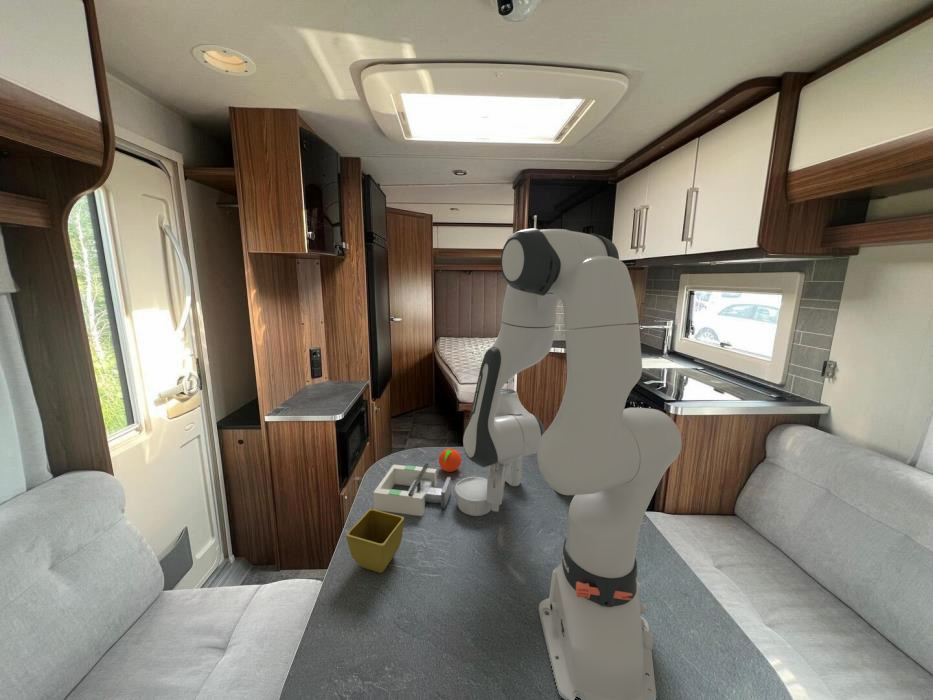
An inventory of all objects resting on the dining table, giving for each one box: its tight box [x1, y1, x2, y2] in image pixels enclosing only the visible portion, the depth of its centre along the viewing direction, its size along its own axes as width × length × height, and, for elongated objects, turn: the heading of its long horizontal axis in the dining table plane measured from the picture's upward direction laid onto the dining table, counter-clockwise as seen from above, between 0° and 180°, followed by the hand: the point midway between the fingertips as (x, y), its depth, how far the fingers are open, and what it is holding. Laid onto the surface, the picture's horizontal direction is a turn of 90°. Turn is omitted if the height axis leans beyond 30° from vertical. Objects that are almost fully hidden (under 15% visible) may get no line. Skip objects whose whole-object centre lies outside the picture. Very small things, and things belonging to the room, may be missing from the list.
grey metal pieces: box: [407, 462, 452, 510], centre depth 98 cm, size 15×10×6 cm
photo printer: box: [505, 456, 524, 487], centre depth 108 cm, size 10×4×12 cm, turn 28°
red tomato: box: [438, 447, 462, 473], centre depth 112 cm, size 8×7×7 cm
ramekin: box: [454, 476, 492, 517], centre depth 96 cm, size 11×11×5 cm
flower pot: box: [345, 508, 405, 574], centre depth 76 cm, size 9×9×9 cm
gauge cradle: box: [372, 464, 438, 517], centre depth 99 cm, size 14×13×5 cm
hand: (497, 498), depth 95 cm, fingers open, 8 cm apart
